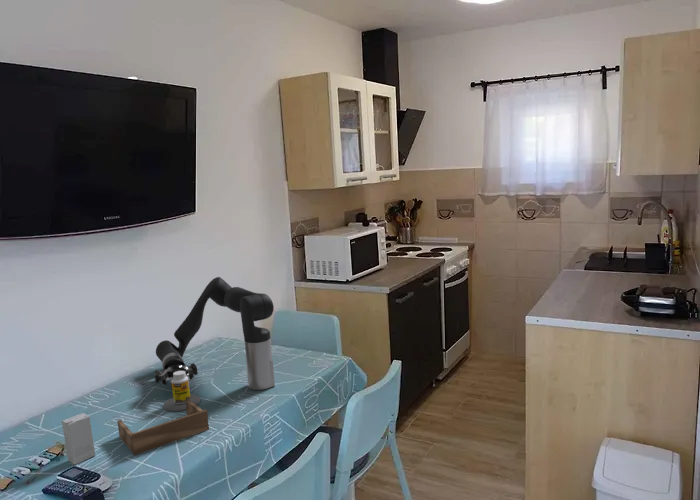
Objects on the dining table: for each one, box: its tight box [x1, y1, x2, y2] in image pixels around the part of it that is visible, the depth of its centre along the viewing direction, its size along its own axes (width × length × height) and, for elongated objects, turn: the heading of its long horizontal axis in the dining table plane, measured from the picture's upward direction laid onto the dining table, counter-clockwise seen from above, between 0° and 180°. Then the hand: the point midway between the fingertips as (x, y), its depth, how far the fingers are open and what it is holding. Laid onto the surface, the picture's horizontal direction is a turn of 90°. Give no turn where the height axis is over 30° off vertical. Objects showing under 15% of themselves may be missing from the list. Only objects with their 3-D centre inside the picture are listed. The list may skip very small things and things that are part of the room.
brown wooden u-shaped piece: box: [116, 399, 210, 456], centre depth 167 cm, size 15×22×6 cm
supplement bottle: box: [170, 371, 191, 404], centre depth 187 cm, size 6×6×10 cm
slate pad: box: [163, 394, 201, 413], centre depth 188 cm, size 12×12×1 cm
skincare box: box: [61, 412, 96, 465], centre depth 154 cm, size 6×4×12 cm
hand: (178, 379), depth 190 cm, fingers open, 8 cm apart
